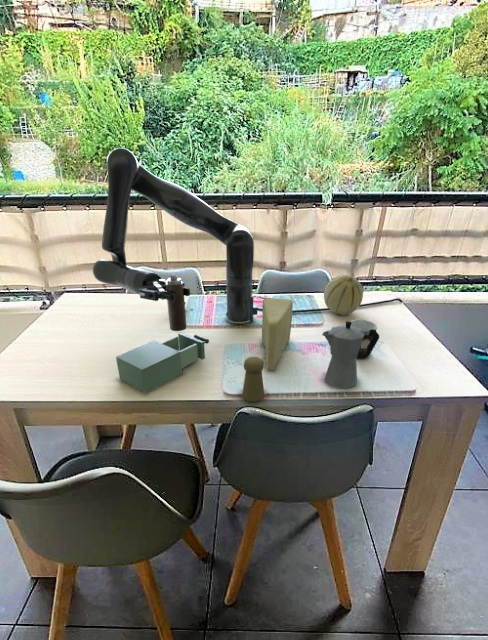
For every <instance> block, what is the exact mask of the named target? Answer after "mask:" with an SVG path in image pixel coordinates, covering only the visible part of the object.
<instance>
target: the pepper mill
mask: <svg viewBox="0 0 488 640" xmlns="http://www.w3.org/2000/svg"><path fill="white" fill-rule="evenodd" d="M166 280H167V282H166V291H168V292H171V293H174V294H175V299H176V300H175V301H174V302H172V301H169V300H166V302H167V313H168V324H169V329H170V331H172V332H181V331H185V330H186V329H187V315H186V314H187V313H186V312H185V311H186V304H185V302H186V301H185V295H184V288H183V282H184V281H183V280H182V278H180V277H178V275H177V274H174V273H173V274H171V275H170V277H168V278H167V279H166ZM182 281H183V282H182Z"/></svg>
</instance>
